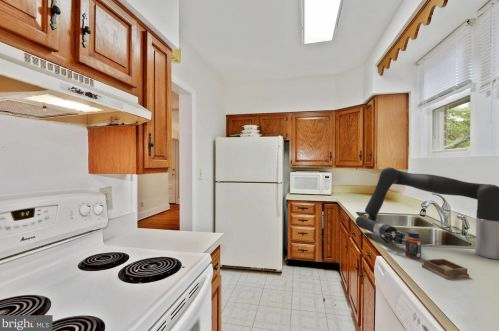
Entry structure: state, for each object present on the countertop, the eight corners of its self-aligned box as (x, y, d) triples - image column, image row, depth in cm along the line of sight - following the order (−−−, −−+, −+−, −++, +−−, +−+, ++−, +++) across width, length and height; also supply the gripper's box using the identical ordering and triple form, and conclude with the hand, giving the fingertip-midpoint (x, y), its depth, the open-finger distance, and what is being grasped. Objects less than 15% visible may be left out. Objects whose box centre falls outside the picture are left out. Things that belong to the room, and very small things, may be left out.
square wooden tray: (442, 265, 102) (443, 258, 102) (469, 277, 92) (469, 269, 92) (421, 266, 101) (421, 259, 101) (446, 279, 90) (446, 271, 90)
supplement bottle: (423, 260, 108) (424, 234, 107) (408, 258, 109) (409, 233, 109) (416, 254, 114) (417, 230, 113) (402, 253, 115) (403, 229, 114)
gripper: (372, 224, 128) (396, 233, 112) (396, 223, 130) (423, 232, 114) (372, 238, 128) (396, 250, 112) (396, 237, 130) (422, 248, 114)
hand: (409, 241), depth 113 cm, fingers open, 8 cm apart
